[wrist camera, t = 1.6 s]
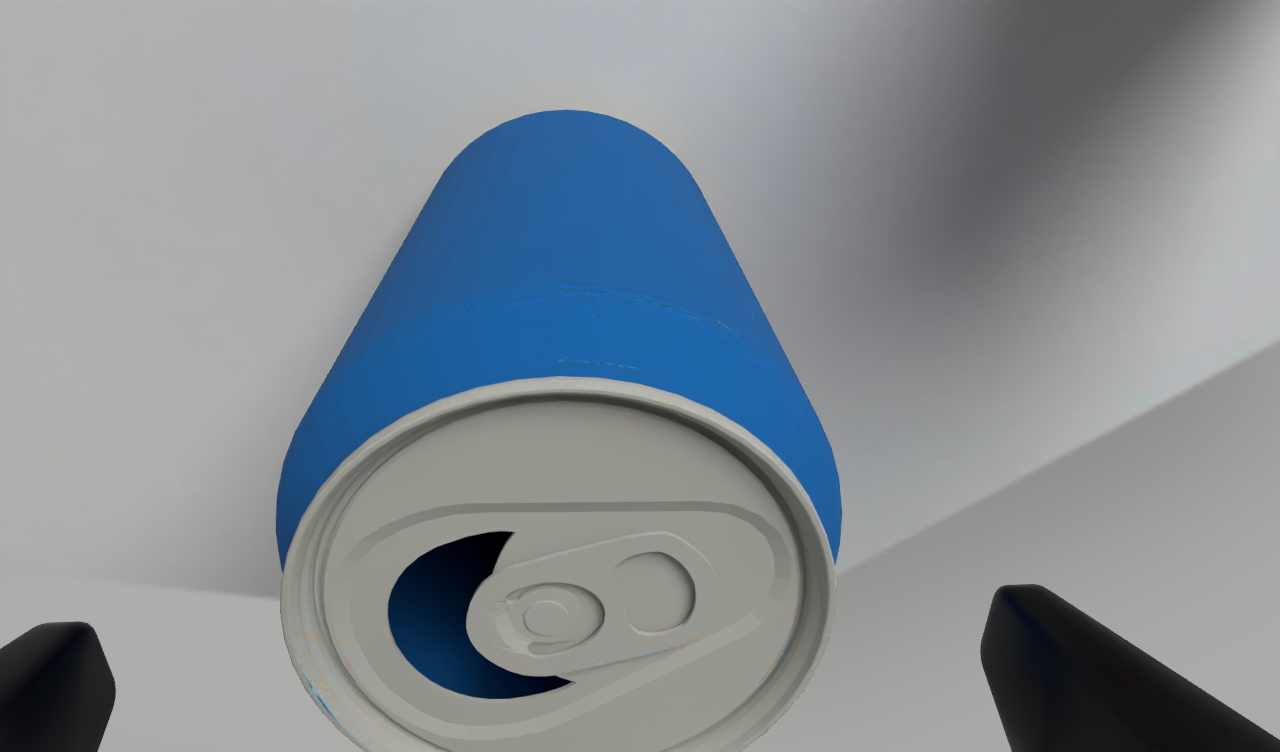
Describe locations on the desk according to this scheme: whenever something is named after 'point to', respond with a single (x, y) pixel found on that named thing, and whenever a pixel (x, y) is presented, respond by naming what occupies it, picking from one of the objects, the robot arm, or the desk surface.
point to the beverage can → (559, 472)
